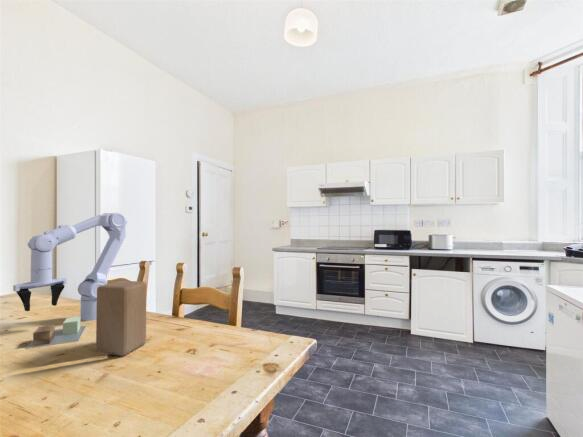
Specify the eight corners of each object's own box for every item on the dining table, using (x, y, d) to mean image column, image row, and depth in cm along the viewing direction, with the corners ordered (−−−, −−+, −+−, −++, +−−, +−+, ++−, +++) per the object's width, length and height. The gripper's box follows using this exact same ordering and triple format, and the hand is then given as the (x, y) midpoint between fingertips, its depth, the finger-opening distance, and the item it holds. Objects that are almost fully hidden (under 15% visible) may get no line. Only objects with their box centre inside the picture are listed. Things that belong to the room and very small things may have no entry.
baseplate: (86, 328, 108) (86, 325, 108) (78, 344, 94) (78, 340, 94) (40, 335, 102) (40, 331, 102) (24, 352, 88) (24, 348, 88)
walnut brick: (54, 337, 97) (54, 324, 97) (49, 343, 92) (49, 330, 92) (38, 339, 95) (39, 326, 95) (33, 346, 90) (33, 332, 90)
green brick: (80, 327, 106) (80, 316, 106) (77, 333, 101) (77, 321, 101) (66, 329, 104) (66, 318, 104) (62, 335, 99) (62, 323, 99)
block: (123, 357, 85) (124, 287, 85) (94, 354, 87) (95, 286, 87) (147, 343, 95) (148, 281, 95) (120, 341, 97) (121, 280, 97)
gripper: (60, 265, 112) (60, 301, 112) (9, 271, 99) (9, 311, 99) (69, 266, 108) (69, 304, 108) (18, 272, 96) (17, 314, 96)
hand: (41, 307), depth 104 cm, fingers open, 7 cm apart
